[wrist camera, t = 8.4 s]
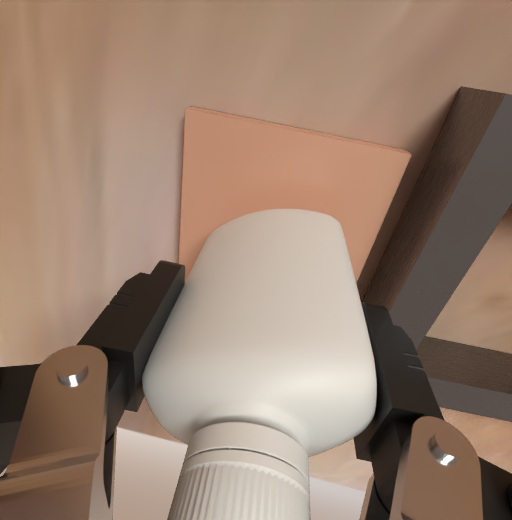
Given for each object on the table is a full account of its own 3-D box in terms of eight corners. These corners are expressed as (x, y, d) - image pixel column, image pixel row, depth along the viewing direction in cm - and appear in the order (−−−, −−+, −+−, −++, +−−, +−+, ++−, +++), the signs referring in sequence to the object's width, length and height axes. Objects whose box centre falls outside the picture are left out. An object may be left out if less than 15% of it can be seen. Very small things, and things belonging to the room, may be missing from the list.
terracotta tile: (191, 106, 13) (185, 108, 12) (405, 149, 13) (411, 154, 12) (182, 279, 18) (177, 287, 17) (338, 311, 18) (340, 321, 17)
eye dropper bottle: (315, 300, 15) (348, 788, 5) (201, 263, 15) (-12, 712, 5) (359, 222, 13) (590, 848, 3) (225, 174, 12) (-104, 702, 2)
